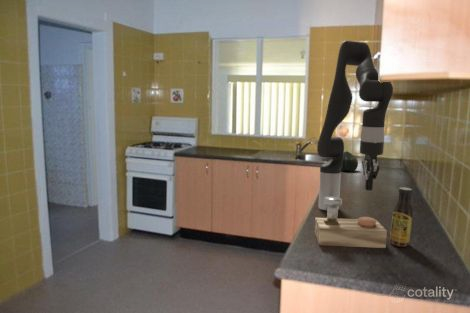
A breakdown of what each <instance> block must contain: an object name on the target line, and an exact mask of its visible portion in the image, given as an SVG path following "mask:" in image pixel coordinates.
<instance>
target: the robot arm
mask: <svg viewBox="0 0 470 313" xmlns="http://www.w3.org/2000/svg"><path fill="white" fill-rule="evenodd" d="M336 60H337V61H336V67H335V74H334V78H333V84H332V87H331V92H330V94H329V100H328V104H327V108H326V114H325V119H324V122H323V126H322V129H321V132H320V135H319V138H318V141H317V146H316V150H317V154H318V156H319V157H321V158H330V159H329V160H328V161H326V162H324V163H323V164H321V165H320V167H319V183H318V184H319V186H318V209H320V210H322V211H327V207H328V205H326V204H324V198H325V197H338V198H341V197H340V192H341V191H340V190H341V178H342V176H341V174H342V173H341V172H342V171H341V168H342V164H343V154H344V152H345V144H344V140H343V139H342V137H340V136H333V135H334V133H335V132H334V131H335V130H336V129H337V127H338V126H340V124H341V123H342V122H343V120H345V119H346V117H347V116H348V114H350V110H351V106H352V101H353V93H352V90H351V87H350V85H349V83H348V80H347V75H346V74H347V73H346V68H347V66H357V67H356V70H355V77H356V80H357V82H358V84H359V90H358V96H359V98H360V99H361V100H362V101H363V102H369V103H371V102H372V103H373V102H375V103H376V102H377V105H376V106H375V107H373V108H368V109H367V108H366V109H364V111H363V113H362V123H361V132H360V140H359V144H360V145H359V153H360V154H361V155H364V158H363V160H362V161H361V163H362V164H361V166H362V173H363V176H364V179H365V182H364V189H365V190H366V191H373V187H374V186H373V185H374V180H376V179H377V178H378V177H377V176H378V174H379V171H380V166H379V160H378V156H381V155H383V154H384V148H385V146H384V145H385V124H386V123H385V120H386V113H387V111H388V107H389V104H390V102H391V99H392V96H393V93H394V86H393V84H392V82H390V81H389V82H383V83H380V82H379V81H378V74H379V72H378V71H377V69H376V67H375V66H374V62H373V58H372V53H371V49H370V46H369V45H368V44H367V43H366V42H362V41H355V40H344V41H342V43H341V45H340V47H339V50H338V54H337V59H336ZM339 208H340V206H338V211H339Z"/></svg>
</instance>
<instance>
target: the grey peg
mask: <svg viewBox="0 0 470 313" xmlns="http://www.w3.org/2000/svg"><path fill="white" fill-rule="evenodd" d="M324 204H326V205H328V207H327V212H326V215H327V216H326V218H327V221H329V222H337V218H338V214H339V210H338V206H339V207H340V206H342V205H343V199H342V198H341V197H339V198H338V197H325V198H324ZM338 219H339V218H338Z"/></svg>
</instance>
